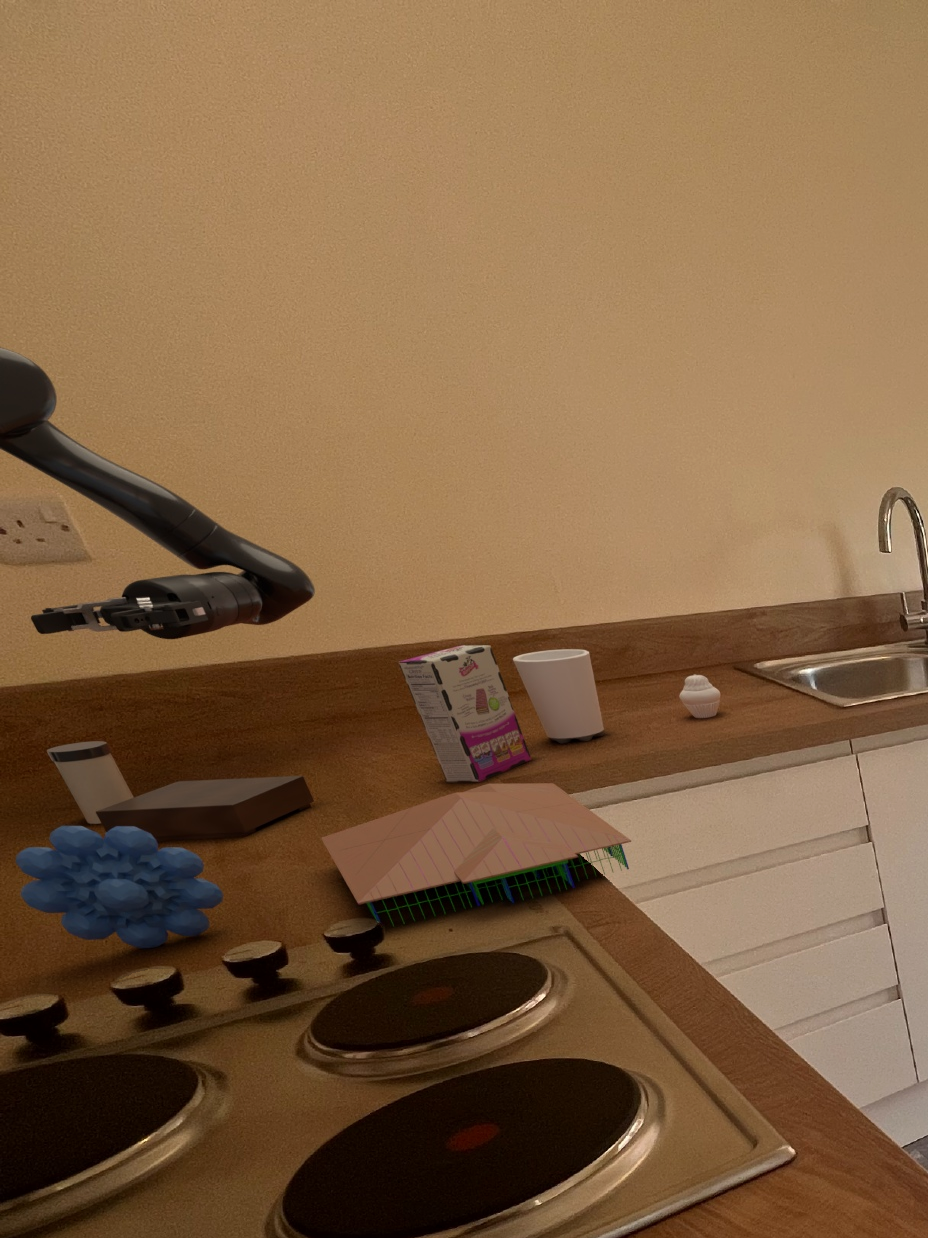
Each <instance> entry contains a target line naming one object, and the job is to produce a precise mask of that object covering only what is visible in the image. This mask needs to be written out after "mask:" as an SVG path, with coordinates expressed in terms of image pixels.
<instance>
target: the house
mask: <svg viewBox="0 0 928 1238" xmlns="http://www.w3.org/2000/svg"><path fill="white" fill-rule="evenodd" d="M320 839H321V841H322V843H323V845H324V846H325V848H326V850H327V851H328V853H329V855H330V857H331V859H332V860H333V862H334V864H335V865H336V867H337V870H338V871H339V873H340V875H341V877H342V878H343V880H344V882H345V883H346V885H347V887H348V888H349V890H350V892H351V894H352V895H353V897H354V899H355V901H356V903H357V905H363V904H366V905H367V907H368V909H369V911H370V912H371V914H372V917H374V920H375V921H376V922H377V921H379V923H381V924H382V922H381V920H380V917H379V915H378V914H379V913H383V912H386V913H387V915H388V917H389V920H390V921H391V924H392V926H393V927H395V925H394V922H393V920H392V918H391V915H390V913H389V912H390V911H394V910H398V911H397V912H398V913H399V915H400V918H401V921H402V923H403V924H404V925H405V921H404V919H403V916H402V914H401V912H400V909H401V908H404V907H408V909H409V911H410V912H409V913H410V914H411V916H412V919H413V921H414V922H416V920H415V918H414V914H413V912H412V910H411V908H410V906H415V905H418V906H419V908H420V911H421V914H422V916H423V918H424V919H426V917H425V914H424V911H423V909H422V906H421V903H425V902H426V903H427V902H428V903H429V905H430V908H431V910H432V913H433V915H434V916H436V914H435V911H434V908H433V906H432V904H431V902H433V901H436V900H439V903H440V905H441V908H442V910H443V913H444V915H447V914H446V911H445V908H444V906H443V904H442V901H441V899H442V898H443V899H444V898H447V897H449V900H450V903H451V905H452V908H453V910H454V911H456V908H455V905H454V903H453V901H452V898H451V897H453V896H457V895H459V898H460V900H461V903H462V905H463V908H464V909H466V906H465V903H464V901H463V899H462V896H461V894H464V893H465V895H466V897H467V900H468V903H469V905H470V907H471V908H473V906H472V903H471V900H470V899H469V895H468V893H469V892H472V895H473V898H474V900H475V902H476V905H477V907H480V905H482V906H483V905H485V903H484V901H483V898H482V895H481V892H480V889H484V888H486V890H487V892H488V894H489V898H490V901H491V903H494V901H493V899H492V895H491V893H490V890H489V888H491V887H495V886H496V888H497V892H498V894H499V896H500V899H501V900H503V897H502V895H501V892H500V889H499V887H498V885H502V889H503V891H504V893H505V896H506V897H507V898H506V899H508V900H509V901H510V902H511V903H512V904H515V900H514V898H513V895H512V891H511V889H510V888H513V887H516V886H517V888H518V890H519V893H520V896H521V899H522V901H525V900H524V896H523V894H522V891H521V888H520V886H522V885H527V887H528V889H529V893H530V895H531V898H532V899H534V896H533V893H532V891H531V888H530V885H529V883H533V882H536V884H537V886H538V889H539V892H540V895H541V896H543V893H542V890H541V887H540V884H539V881H543V880H545V881H546V884H547V886H548V887H547V888H548V890H549V892H550V894H552V893H553V892H552V890H551V888H550V884H549V882H548V879H550V878H555V882H556V884H557V887H558V890H559V891H561V888H560V886H559V883H558V879H557V877H561V879H562V882H563V885H564V887H565V890H566V891H567V890H568V888H567V885H566V882H567V883H568V884H569V885H570V886H571V887H572V889H576V887H575V884H574V881H573V878H572V876H571V875H572V874H571V872H570V870H569V869H570V868H573V869H574V872H575V875H576V878H577V881H578V882H580V878H579V875H578V872H577V870H576V867H580V866H582V867H583V870H584V873H585V877H586V879H587V880H589V878H588V875H587V871H586V868H585V866H584V865H587V864H591V866H592V870H593V872H594V876H595V877H596V878H597V874H596V871H595V867H594V865H593V863H596V862H599V863H600V866H601V868H602V872H603V875H604V876H605V875H606V873H605V870H604V867H603V864H602V861H603V860H607V859H608V863H609V865H610V868H611V872H612V873H613V874H614V870H613V867H612V863H611V860H610V859H615V861H616V860H617V862H618V865H619V869H620V871H621V872H622V871H623V868H622V867H621V865H622V866H624V868H626V870H629V869H630V868H629V864H628V861H627V858H626V854H625V852H624V848H623V844H628V843H631V842H632V840H631V839H630V838H629V837H627V836H626V835H625V834H623V833H622V832H621V831H619V830H618V829H616V828H615V827H613V826H612V825H611V824H610V823H608V822H607V821H605V820H604V819H603V818H601V817H600V816H599V815H598V814H596V813H595V812H593V811H592V810H590V809H589V808H588V807H586V806H585V805H584V804H583V803H581V802H579V801H578V800H576V798H574V797H572V796H571V795H570V794H568V793H567V792H566V791H564V790H563V789H562V788H560V787H559V786H557V784H554V782H553V783H552V782H551V783H550V782H548V783H547V782H546V783H539V782H538V783H537V782H536V783H527V782H526V783H485V784H483V785H480V786H477V787H473V788H471V789H468V790H464V791H462V792H460V791H459V792H458V791H457V792H452V793H450V794H447V795H444V796H440V797H438V798H435V799H432V800H429V801H426V802H423V803H420V804H416V805H414V806H411V807H408V808H405V809H402V810H399V811H396V812H393V813H391V814H388V815H384V816H382V817H379V818H376V819H372V820H370V821H366V822H364V823H361V824H358V825H355V826H351V827H349V828H345V829H343V830H340V831H337V832H333V833H331V834H328V835H325V836H322V837H320ZM598 850H602V854H603V856H604V858H601V857H600V854H599V851H598ZM590 852H593V853H594V856H595V859H596V860H594V861H592V858H591V855H590ZM605 852H606V854H605ZM581 854H585V855H586V858H587V862H583V859H582V857H581ZM606 855H607V857H606ZM609 855H610V857H609ZM576 858H578V862H579V864H577V865H575V863H574V861H573V859H576ZM569 861H570V864H571V866H568V864H569ZM548 868H551V870H552V874H553V875H552V876H551V875H549V872H548ZM544 869H545V870H546V873H547V876H546V873H545V871H544ZM540 870H542V873H543V876H544V878H541V875H540V873H539V871H540ZM555 872H556V874H555ZM526 873H532V874H533V876H534V879H535V880H531V881H528V880H527V877H526ZM522 874H523V876H524V878H525V881H526V882H524V883H520V884H519V883H518V880H517V878H516V876H518V875H522ZM509 877H513V878H514V880H515V883H516V884H513V885H509V884H508V881H507V878H509ZM496 880H500V882H499V883H497V881H496ZM492 881H494V883H495V884H493V885H487V883H488V882H492ZM458 882H459V883H460V882H461V885H462V887H463V890H464V891H459V889H458V886H457V883H458ZM483 883H484V884H485V886H482V887H478V885H479V884H483ZM450 884H454V885H455V888H456V890H457V893H455V894H449V891H448V889H447V885H450ZM464 884H465V885H466V886H467V887H468V888H469V890H467V891H466V889H465V886H464ZM441 886H444V888H445V890H446V892H447V895H444V896H439V894H438V891H437V889H436V888H437V887H441ZM433 888H434V890H435V893H436V896H437V897H438V898H433V899H429V896H428V894H427V890H428V889H433ZM419 891H420V892H421V891H424V893H425V896H426V898H427V900H423V901H419V900H418V897H417V892H419ZM411 893H413V894H414V897H415V899H416V902H415V903H413V904H412V903H411V904H409V902H408V901H407V898H406V895H407V894H411ZM398 896H403V897H404V900H405V902H406V905H402V906H398V905H397V902H396V899H397V897H398ZM390 898H392V899H393V901H394V905H395V906H396V907H394V908H391V909H387V905H386V904H385V902H384V900H385V901H387V900H388V899H390ZM395 898H396V899H395ZM380 900H381V901H382V903H383V905H384V909H385V910H380V911H376V908H375V906H374V904H373V902H378V901H380ZM480 903H481V904H480Z"/></svg>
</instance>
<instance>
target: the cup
mask: <svg viewBox="0 0 928 1238" xmlns="http://www.w3.org/2000/svg"><path fill="white" fill-rule="evenodd" d="M512 661H513V663H514V666H515V668H516V670H517V672H518V674H519V677H520V679H521V681H522V684H523V686H524V688H525V690H526V692H527V695H528V697H529V699H530V702H531V704H532V706H533V708H534V710H535V713H536V715H537V717H538V720H539V722H540V724H541V725H542V728H543V731H544V733H545V735H546V737H547V738H548V739H549V740H550V741H552V742H557V743H558V744H569V743H570V742H572V740H573V739H574V740H575V739H576V740H579V741H580V742H589V741H591V740H593V738H598V737H603V736H604V734H605V728H604V722H603V718H602V713H601V707H600V702H599V697H598V690H597V686H596V681H595V676H594V670H593V665H592V661H591V655H590V651H588V650H586V649H577V648H570V649H569V648H568V649H566V648H565V649H548V650H541V651H533V652H528V653H522V654H519V655H516V656H514V657H513V658H512Z"/></svg>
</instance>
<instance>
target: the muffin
mask: <svg viewBox="0 0 928 1238" xmlns="http://www.w3.org/2000/svg"><path fill="white" fill-rule="evenodd" d="M682 687H683V689H682V690H681V691H680V693H679V695H678V696H679V700H680V701H681V702H682V705H683V706H684V707H685V708H686V709H687V710H688V712H689V713H690V714H691V715H692V716H693V717H694V718H696V719H707V718H711V717H712V718H713V717H715V716H717V713H718V710H719V706H720V703H721V699H720V698H721V692H720V690H719V689H718V688H716V687H715V686H713V684H712V683H711V682H709V678H707V677H706V676H704V675H701V674H696V673H693V675H689V676H687V677H686V678H685V679H684V685H683V686H682Z"/></svg>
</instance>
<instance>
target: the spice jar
mask: <svg viewBox="0 0 928 1238" xmlns="http://www.w3.org/2000/svg"><path fill="white" fill-rule="evenodd" d="M46 752H47V754H48V756H49V758H50V760H51V761H52V762H53V763H54V765H55V766H56V768H57V770H58V772H59V774H60V775H61V777H62V779H63V781H64V783H65V784H66V786H67V789H68V790H69V791H70V794H71V795H72V798H73V799H74V801H75V803H76V805H77V807H78V808H79V810H80V812H81V814H82V816H83V817H84V819H85V821H86V823H87V824H90V825H97V824H99V825H100V824H102V823H101V822H100V820H99V818H98V816H97V814H96V811H98V810H101V809H104V808H107V807H109V806H112V805H115V804H118V803H120V802H123V801H126V800H129V799H131V798H134V795H133V793H132V791H131V789H130V787H129V785H128V783H127V781H126V780H125V778H124V775H123V774H122V772H121V770H120V769H119V766H118V764H117V762H116V760H115V759H114V757H113V754H112V751H111V749H110V746H109V745H108V742H106V741H102V740H94V741H92V740H91V741H81V742H75V743H68V744H67V743H66V744H63V745H58V746H53V747H51V748H48V749H47V750H46Z"/></svg>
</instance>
